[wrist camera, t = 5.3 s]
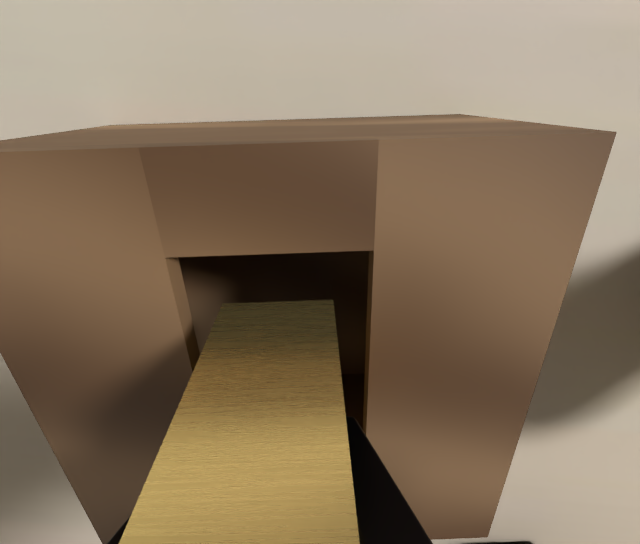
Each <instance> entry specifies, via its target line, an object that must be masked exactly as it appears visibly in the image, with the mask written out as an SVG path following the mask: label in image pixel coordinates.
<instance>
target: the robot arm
mask: <svg viewBox="0 0 640 544" xmlns="http://www.w3.org/2000/svg"><path fill="white" fill-rule="evenodd" d="M346 423H347V432H348V441H349V450H350V459H351V469H352V478H353V487H354V496H355V505H356V515H357V524H358V533H359V542H360V544H433V543H432V542H431V540H430V538H429V537H428V535H427V533H426V532H425V530H424V529H423V527H422V525H421V524H420V522H419V520H418V519H417V517H416V516H415V514H414V512H413V511H412V509H411V508H410V506H409V504H408V503H407V501H406V499H405V498H404V496H403V495H402V493H401V491H400V490H399V488H398V486H397V485H396V483H395V482H394V480H393V478H392V477H391V475H390V473H389V472H388V470H387V469H386V467H385V465H384V464H383V462H382V461H381V459H380V457H379V456H378V454H377V452H376V451H375V449H374V448H373V446H372V444H371V443H370V441H369V439H368V438H367V436H366V435H365V433H364V431H363V430H362V428H361V426H360V425H359V423H358V422H357V420H356V419H355V418H354V417H353V416H346ZM130 517H131V515H130V516H129V518H128V519H127V520H126V521H125V522H124V524H123V525H122V526H121V527H120V528H119V530H118V531H117V532H116V533H115V534H114V535H113V537H112V538H111V539H110V540H109V541H108V543H107V544H119V542H120V540H121V537H122V535H123V533H124V530H125V528H126V526H127V523H128V521H129V519H130Z"/></svg>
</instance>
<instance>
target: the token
mask: <svg viewBox="0 0 640 544" xmlns="http://www.w3.org/2000/svg"><path fill="white" fill-rule="evenodd" d="M119 544H360V542H359V533H358V524H357V515H356V505H355V496H354V487H353V478H352V469H351V459H350V450H349V441H348V432H347V423H346V413H345V404H344V395H343V386H342V377H341V367H340V358H339V349H338V340H337V331H336V321H335V312H334V303H333V300H308V301H279V302H251V303H223V304H222V306H221V308H220V311H219V313H218V315H217V318H216V320H215V322H214V324H213V327H212V329H211V331H210V334H209V336H208V338H207V341H206V343H205V345H204V348H203V350H202V352H201V355H200V357H199V359H198V361H197V364H196V366H195V368H194V371H193V373H192V375H191V378H190V380H189V382H188V385H187V387H186V389H185V392H184V394H183V396H182V399H181V401H180V403H179V405H178V408H177V410H176V412H175V415H174V417H173V419H172V422H171V424H170V426H169V429H168V431H167V433H166V436H165V438H164V440H163V442H162V445H161V447H160V449H159V452H158V454H157V456H156V459H155V461H154V463H153V466H152V468H151V470H150V473H149V475H148V477H147V479H146V482H145V484H144V486H143V489H142V491H141V493H140V496H139V498H138V500H137V503H136V505H135V507H134V510H133V512H132V514H131V517H130V519H129V521H128V523H127V526H126V528H125V530H124V533H123V535H122V537H121V540H120V542H119Z"/></svg>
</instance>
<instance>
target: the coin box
mask: <svg viewBox="0 0 640 544" xmlns="http://www.w3.org/2000/svg"><path fill="white" fill-rule="evenodd" d="M615 136H616V132H611V131H602V130H593V129H584V128H575V127H567V126H558V125H549V124H540V123H532V122H523V121H514V120H505V119H497V118H488V117H479V116H470V115H461V114H453V115H422V116H390V117H358V118H326V119H295V120H263V121H231V122H199V123H168V124H136V125H109V126H102V127H94V128H87V129H80V130H73V131H66V132H59V133H51V134H44V135H37V136H30V137H23V138H16V139H8V140H1V141H0V353H1V355H2V356H3V358H4V360H5V362H6V364H7V366H8V368H9V370H10V371H11V373H12V375H13V377H14V379H15V381H16V383H17V384H18V386H19V388H20V390H21V392H22V394H23V396H24V398H25V399H26V401H27V403H28V405H29V407H30V409H31V411H32V413H33V414H34V416H35V418H36V420H37V422H38V424H39V426H40V428H41V429H42V431H43V433H44V435H45V437H46V439H47V441H48V443H49V444H50V446H51V448H52V450H53V452H54V454H55V456H56V457H57V459H58V461H59V463H60V465H61V467H62V469H63V471H64V472H65V474H66V476H67V478H68V480H69V482H70V484H71V486H72V487H73V489H74V491H75V493H76V495H77V497H78V499H79V501H80V502H81V504H82V506H83V508H84V510H85V512H86V514H87V516H88V517H89V519H90V521H91V523H92V525H93V527H94V529H95V530H96V532H97V534H98V536H99V538H100V540H101V542H102V544H107V543H108V541H109V540H110V539H111V538H112V537H113V535H114V534H115V533H116V532H117V531H118V530H119V528H120V527H121V526H122V525H123V524H124V522H125V521H126V520H127V519H128V518H129V516H130V515H131V514H132V512H133V510H134V507H135V505H136V503H137V500H138V498H139V496H140V493H141V491H142V489H143V486H144V484H145V482H146V479H147V477H148V475H149V473H150V470H151V468H152V466H153V463H154V461H155V459H156V456H157V454H158V452H159V449H160V447H161V445H162V442H163V440H164V438H165V436H166V433H167V431H168V429H169V426H170V424H171V422H172V419H173V417H174V415H175V412H176V410H177V408H178V405H179V403H180V401H181V399H182V396H183V394H184V392H185V389H186V387H187V385H188V382H189V380H190V378H191V375H192V373H193V371H194V368H195V366H196V364H197V361H198V359H199V357H200V355H201V352H202V350H203V348H204V345H205V343H206V341H207V338H208V336H209V334H210V331H211V329H212V327H213V324H214V322H215V320H216V318H217V315H218V313H219V311H220V308H221V306H222V304H223V303H251V302H279V301H308V300H333V303H334V312H335V321H336V331H337V340H338V349H339V358H340V367H341V377H342V386H343V395H344V404H345V413H346V416H353V417H354V418H355V419H356V420H357V422H358V423H359V425H360V426H361V428H362V430H363V431H364V433H365V435H366V436H367V438H368V439H369V441H370V443H371V444H372V446H373V448H374V449H375V451H376V452H377V454H378V456H379V457H380V459H381V461H382V462H383V464H384V465H385V467H386V469H387V470H388V472H389V473H390V475H391V477H392V478H393V480H394V482H395V483H396V485H397V486H398V488H399V490H400V491H401V493H402V495H403V496H404V498H405V499H406V501H407V503H408V504H409V506H410V508H411V509H412V511H413V512H414V514H415V516H416V517H417V519H418V520H419V522H420V524H421V525H422V527H423V529H424V530H425V532H426V533H427V535H428V537H429V538H430V540H432V539H456V538H480V537H488V534H489V531H490V528H491V524H492V521H493V518H494V515H495V512H496V509H497V506H498V503H499V499H500V496H501V493H502V490H503V487H504V484H505V481H506V477H507V474H508V471H509V468H510V465H511V462H512V459H513V455H514V452H515V449H516V446H517V443H518V440H519V437H520V434H521V430H522V427H523V424H524V421H525V418H526V415H527V412H528V408H529V405H530V402H531V399H532V396H533V393H534V390H535V386H536V383H537V380H538V377H539V374H540V371H541V368H542V365H543V361H544V358H545V355H546V352H547V349H548V346H549V343H550V339H551V336H552V333H553V330H554V327H555V324H556V321H557V317H558V314H559V311H560V308H561V305H562V302H563V299H564V296H565V292H566V289H567V286H568V283H569V280H570V277H571V274H572V270H573V267H574V264H575V261H576V258H577V255H578V252H579V248H580V245H581V242H582V239H583V236H584V233H585V230H586V227H587V223H588V220H589V217H590V214H591V211H592V208H593V205H594V201H595V198H596V195H597V192H598V189H599V186H600V183H601V179H602V176H603V173H604V170H605V167H606V164H607V161H608V158H609V154H610V151H611V148H612V145H613V142H614V139H615Z"/></svg>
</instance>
